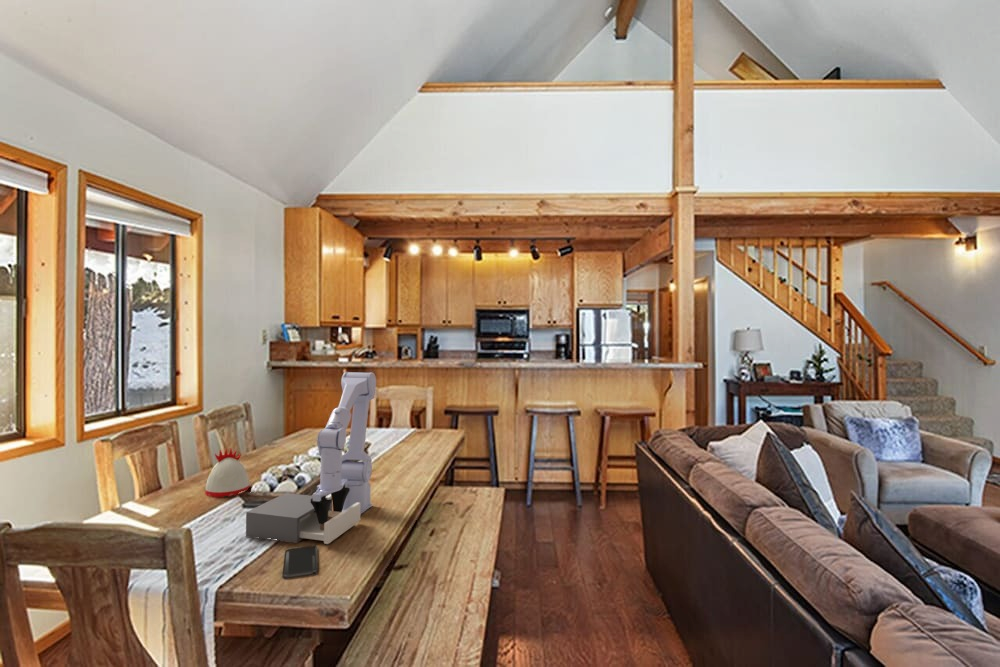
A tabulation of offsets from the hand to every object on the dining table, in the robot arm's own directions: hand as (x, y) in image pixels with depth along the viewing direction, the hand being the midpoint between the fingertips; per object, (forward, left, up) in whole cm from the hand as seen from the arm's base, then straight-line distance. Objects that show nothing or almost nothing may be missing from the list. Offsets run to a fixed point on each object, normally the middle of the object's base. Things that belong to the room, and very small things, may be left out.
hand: (330, 518), depth 144 cm
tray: (0, -3, -3) cm, 5 cm away
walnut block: (0, 0, -3) cm, 3 cm away
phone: (+18, +3, -5) cm, 19 cm away
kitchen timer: (-23, -55, -4) cm, 60 cm away
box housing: (0, -13, -4) cm, 13 cm away
